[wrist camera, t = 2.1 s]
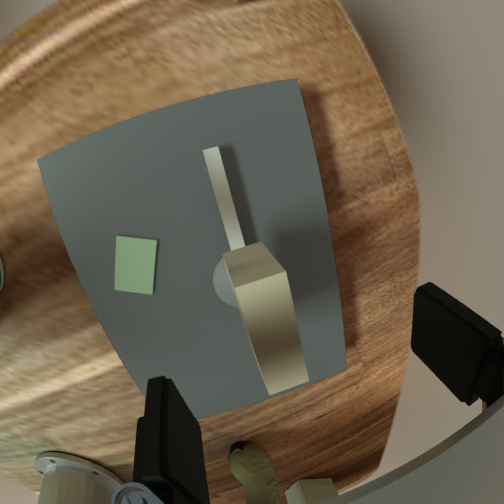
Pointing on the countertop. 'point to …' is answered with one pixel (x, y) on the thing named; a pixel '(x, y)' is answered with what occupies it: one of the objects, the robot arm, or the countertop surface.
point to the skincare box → (311, 491)
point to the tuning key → (260, 294)
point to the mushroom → (255, 473)
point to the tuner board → (199, 238)
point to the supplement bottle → (1, 275)
